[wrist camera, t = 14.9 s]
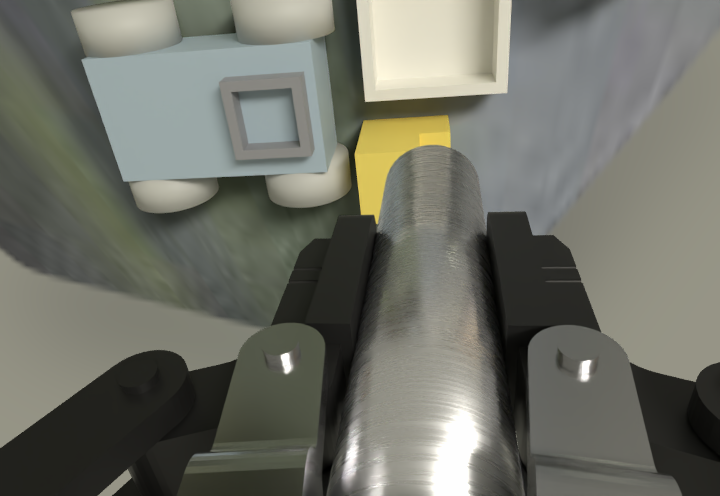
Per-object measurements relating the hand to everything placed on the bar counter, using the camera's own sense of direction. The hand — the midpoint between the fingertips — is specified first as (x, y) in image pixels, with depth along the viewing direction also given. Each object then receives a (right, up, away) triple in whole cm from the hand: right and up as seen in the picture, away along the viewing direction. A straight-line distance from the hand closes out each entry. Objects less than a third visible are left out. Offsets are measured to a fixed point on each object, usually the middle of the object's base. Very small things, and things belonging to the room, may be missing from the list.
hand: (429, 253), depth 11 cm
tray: (+3, +15, +24) cm, 28 cm away
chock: (+2, +7, +29) cm, 30 cm away
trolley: (-10, +11, +27) cm, 32 cm away
